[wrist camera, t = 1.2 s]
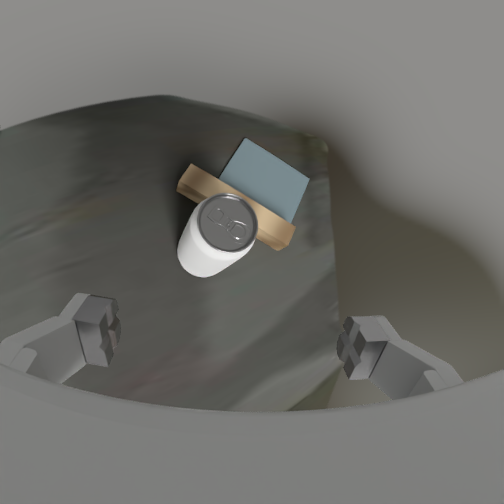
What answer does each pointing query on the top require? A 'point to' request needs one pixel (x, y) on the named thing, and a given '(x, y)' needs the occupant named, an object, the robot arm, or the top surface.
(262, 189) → the felt mat
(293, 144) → the top surface
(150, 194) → the top surface
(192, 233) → the can
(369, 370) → the robot arm
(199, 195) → the oak rail
